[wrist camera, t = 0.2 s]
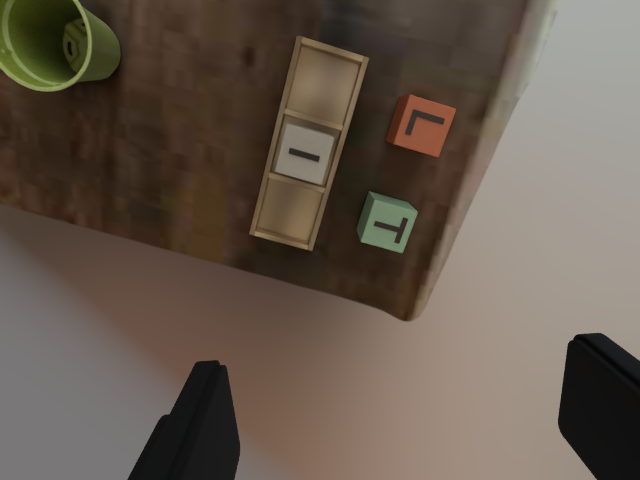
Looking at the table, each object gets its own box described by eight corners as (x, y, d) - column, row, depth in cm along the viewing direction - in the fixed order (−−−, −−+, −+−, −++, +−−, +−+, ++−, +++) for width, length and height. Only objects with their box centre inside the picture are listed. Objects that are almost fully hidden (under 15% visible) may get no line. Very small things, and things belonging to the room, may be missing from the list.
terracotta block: (384, 141, 44) (393, 144, 39) (399, 96, 43) (410, 94, 38) (425, 153, 45) (438, 157, 40) (441, 109, 43) (457, 108, 38)
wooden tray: (252, 229, 47) (248, 234, 45) (298, 39, 41) (297, 34, 39) (312, 245, 48) (312, 251, 46) (366, 61, 42) (369, 57, 39)
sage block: (355, 229, 47) (360, 242, 42) (368, 190, 46) (374, 199, 41) (394, 240, 48) (403, 254, 43) (407, 202, 46) (418, 212, 41)
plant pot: (58, 97, 42) (-5, 92, 34) (37, -1, 39) (-37, -32, 31) (143, 95, 42) (100, 90, 34) (128, -2, 40) (78, -34, 31)
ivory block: (279, 165, 44) (274, 172, 39) (289, 122, 43) (286, 123, 38) (320, 177, 45) (321, 185, 40) (332, 135, 43) (334, 137, 38)
